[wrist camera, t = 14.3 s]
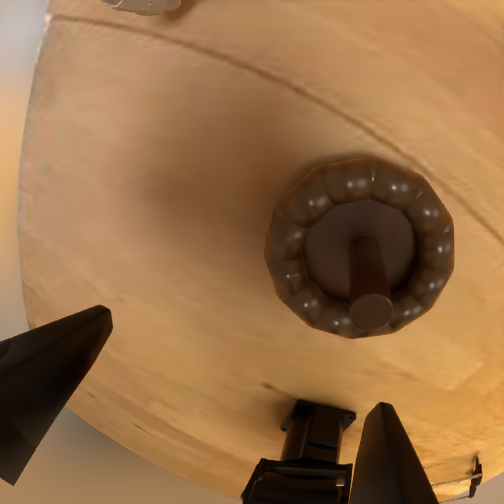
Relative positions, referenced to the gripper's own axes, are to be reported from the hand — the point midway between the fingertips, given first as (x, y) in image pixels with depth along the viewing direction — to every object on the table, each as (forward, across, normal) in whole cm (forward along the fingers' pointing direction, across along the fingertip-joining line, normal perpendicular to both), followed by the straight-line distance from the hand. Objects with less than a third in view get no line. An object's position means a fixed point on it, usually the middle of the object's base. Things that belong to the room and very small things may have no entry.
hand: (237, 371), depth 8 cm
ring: (+10, -4, 0) cm, 11 cm away
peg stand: (+12, -4, 0) cm, 13 cm away
